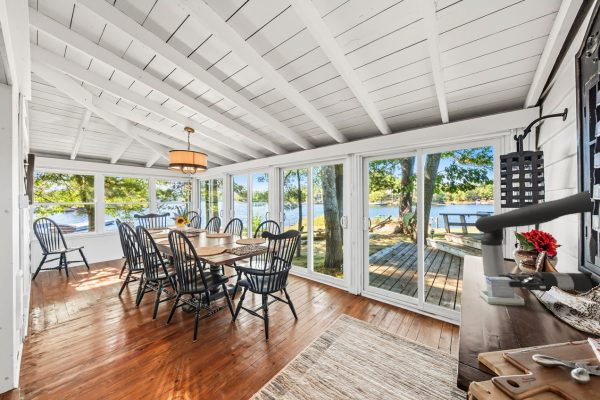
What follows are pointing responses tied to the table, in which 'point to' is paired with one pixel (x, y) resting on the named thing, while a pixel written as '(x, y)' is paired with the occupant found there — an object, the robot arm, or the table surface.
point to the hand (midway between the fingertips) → (503, 280)
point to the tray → (501, 299)
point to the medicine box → (499, 287)
